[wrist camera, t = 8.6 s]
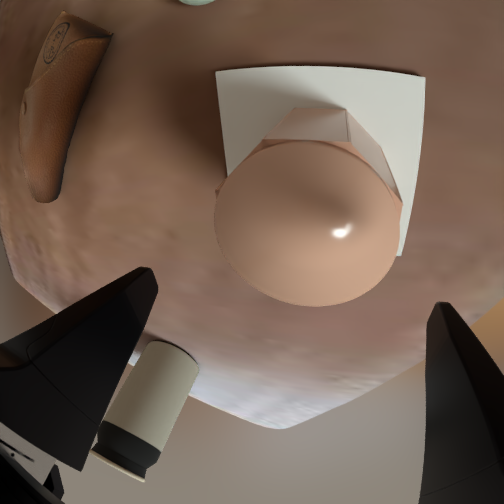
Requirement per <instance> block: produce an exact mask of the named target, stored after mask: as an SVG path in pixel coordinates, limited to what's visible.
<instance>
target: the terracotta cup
mask: <svg viewBox="0 0 504 504" xmlns="http://www.w3.org/2000/svg"><path fill="white" fill-rule="evenodd" d="M215 193H216V198H217V201H216V206H215V211H214V225H215V232H216V236H217V240H218V243H219V246H220V248H221V251H222V252H223V254H224V256H225V258H226V260H227V261H228V262H229V264H230V265H231V267H232V268H233V269H234V270H235V271H236V272H237V274H238V275H239V276H240V277H242V278H243V279H244V280H245V281H246V282H247V283H249V284H250V285H251V286H253V287H254V288H256V289H257V290H259V291H261V292H262V293H264V294H266V295H268V296H270V297H272V298H275V299H278V300H280V301H283V302H287V303H291V304H296V305H302V306H329V305H335V304H339V303H344V302H346V301H349V300H352V299H354V298H357V297H359V296H361V295H363V294H364V293H366V292H367V291H369V290H370V289H372V288H373V287H374V286H375V285H376V284H378V283H379V282H380V280H381V279H382V278H383V277H384V276H385V275H386V273H387V272H388V270H389V269H390V268H391V266H392V263H393V261H394V259H395V257H396V254H397V250H398V247H399V240H400V224H399V223H400V218H401V212H402V206H403V201H402V199H401V196H400V193H399V190H398V188H397V185H396V182H395V180H394V177H393V175H392V172H391V170H390V167H389V165H388V162H387V160H386V158H385V155H384V153H383V151H382V148H381V146H379V145H378V144H377V142H376V141H375V140H374V139H373V138H372V137H371V136H370V135H369V133H368V132H367V131H366V130H365V129H364V128H363V127H362V126H361V125H360V124H359V123H358V121H357V120H356V119H355V118H354V117H353V116H352V115H351V114H350V113H349V112H348V111H347V110H346V109H345V110H341V109H321V108H296V107H295V108H293V109H292V110H291V111H290V112H289V113H288V114H287V115H286V116H285V117H284V118H283V119H282V120H281V121H280V122H279V123H278V124H277V125H276V126H275V127H274V128H273V129H272V130H271V131H270V132H268V133H267V134H266V135H265V136H264V137H263V138H262V141H261V142H260V143H259V144H258V145H257V146H256V147H255V148H254V149H253V150H252V152H251V153H250V154H249V155H248V156H247V157H246V158H245V159H244V160H243V161H242V162H241V163H240V164H239V165H238V166H237V167H236V168H235V169H234V170H233V172H232V173H231V174H230V175H229V176H228V177H227V178H226V179H225V180H224V181H223V182H222V183H221V184H220V186H219V187H218V188H217V189H216V190H215Z"/></svg>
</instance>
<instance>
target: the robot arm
mask: <svg viewBox="0 0 504 504" xmlns="http://www.w3.org/2000/svg"><path fill="white" fill-rule="evenodd" d="M157 293H158V284H157V281H156V279H155V276H154V273H153V271H152V269H151V268H148V267H138V268H136V269H135V270H133V271H131V272H129V273H127V274H125V275H124V276H122V277H120V278H118V279H116V280H115V281H113V282H111V283H109V284H107V285H106V286H104V287H102V288H100V289H99V290H97V291H95V292H93V293H92V294H90V295H88V296H86V297H85V298H83V299H81V300H79V301H78V302H76V303H74V304H72V305H71V306H69V307H67V308H66V309H64V310H62V311H61V312H59V313H58V314H55V315H54V316H52V317H51V318H49V319H47V320H46V321H43V322H42V323H40V324H38V325H36V326H35V327H33V328H31V329H29V330H27V331H25V332H23V333H21V334H19V335H17V336H15V337H14V338H12V339H10V340H8V341H6V342H4V343H2V344H0V504H65V503H64V502H62V501H61V498H62V496H63V494H64V489H63V485H62V481H61V477H60V473H59V469H58V466H57V465H55V461H56V460H59V461H61V462H63V463H65V464H66V465H69V466H70V467H72V468H74V469H76V470H78V471H80V472H81V471H82V469H83V467H84V464H85V461H86V459H87V456H88V454H89V451H90V449H91V446H92V444H93V441H94V438H95V436H96V434H97V431H98V429H99V426H100V424H101V421H102V419H103V417H104V414H105V412H106V410H107V407H108V405H109V403H110V400H111V398H112V396H113V394H114V391H115V389H116V387H117V385H118V383H119V380H120V378H121V376H122V374H123V372H124V369H125V367H126V365H127V363H128V361H129V359H130V357H131V355H132V353H133V350H134V348H135V346H136V344H137V342H138V340H139V338H140V336H141V334H142V332H143V330H144V327H145V325H146V322H147V319H148V317H149V314H150V312H151V309H152V306H153V304H154V301H155V299H156V296H157ZM425 366H426V367H425V383H426V433H425V453H424V464H423V474H422V483H421V491H420V498H419V503H418V504H504V375H503V374H502V372H501V371H500V369H499V368H498V366H497V365H496V363H495V362H494V361H493V359H492V358H491V356H490V355H489V353H488V352H487V351H486V349H485V348H484V346H483V345H482V344H481V342H480V341H479V340H478V338H477V337H476V336H475V334H474V333H473V332H472V330H471V329H470V328H469V326H468V325H467V324H466V323H465V321H464V320H463V319H462V317H461V316H460V315H459V314H458V312H457V311H456V310H455V309H454V308H453V306H452V305H451V304H450V303H448V302H437V303H436V304H435V306H434V308H433V310H432V313H431V315H430V317H429V319H428V322H427V328H426V365H425Z"/></svg>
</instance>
